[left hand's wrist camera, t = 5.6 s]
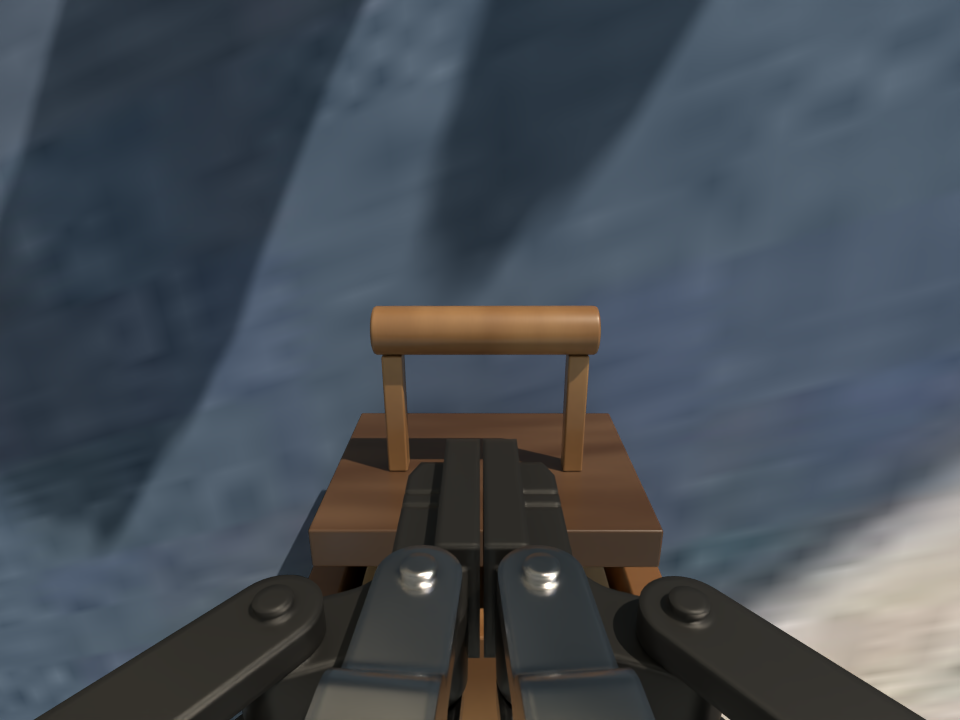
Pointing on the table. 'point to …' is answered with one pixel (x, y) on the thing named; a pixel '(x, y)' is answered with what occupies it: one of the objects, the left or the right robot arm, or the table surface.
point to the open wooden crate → (481, 670)
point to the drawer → (540, 438)
